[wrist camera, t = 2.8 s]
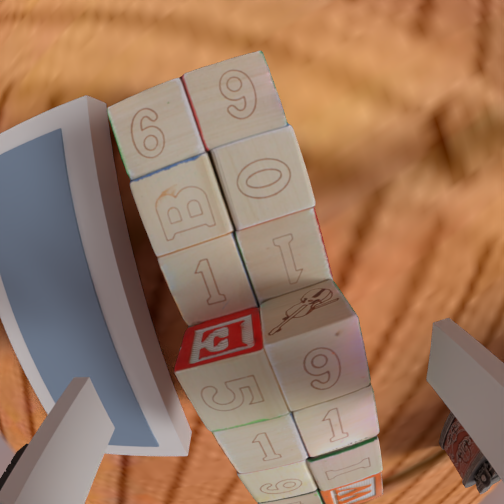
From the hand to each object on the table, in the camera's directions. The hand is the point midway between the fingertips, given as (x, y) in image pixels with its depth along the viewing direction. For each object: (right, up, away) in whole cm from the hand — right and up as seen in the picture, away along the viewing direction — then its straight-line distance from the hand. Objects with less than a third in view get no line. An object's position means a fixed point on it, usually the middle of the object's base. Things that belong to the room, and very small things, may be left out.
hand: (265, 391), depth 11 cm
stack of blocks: (0, +4, +11) cm, 12 cm away
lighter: (+22, -14, +16) cm, 31 cm away
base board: (-14, +1, +11) cm, 18 cm away
